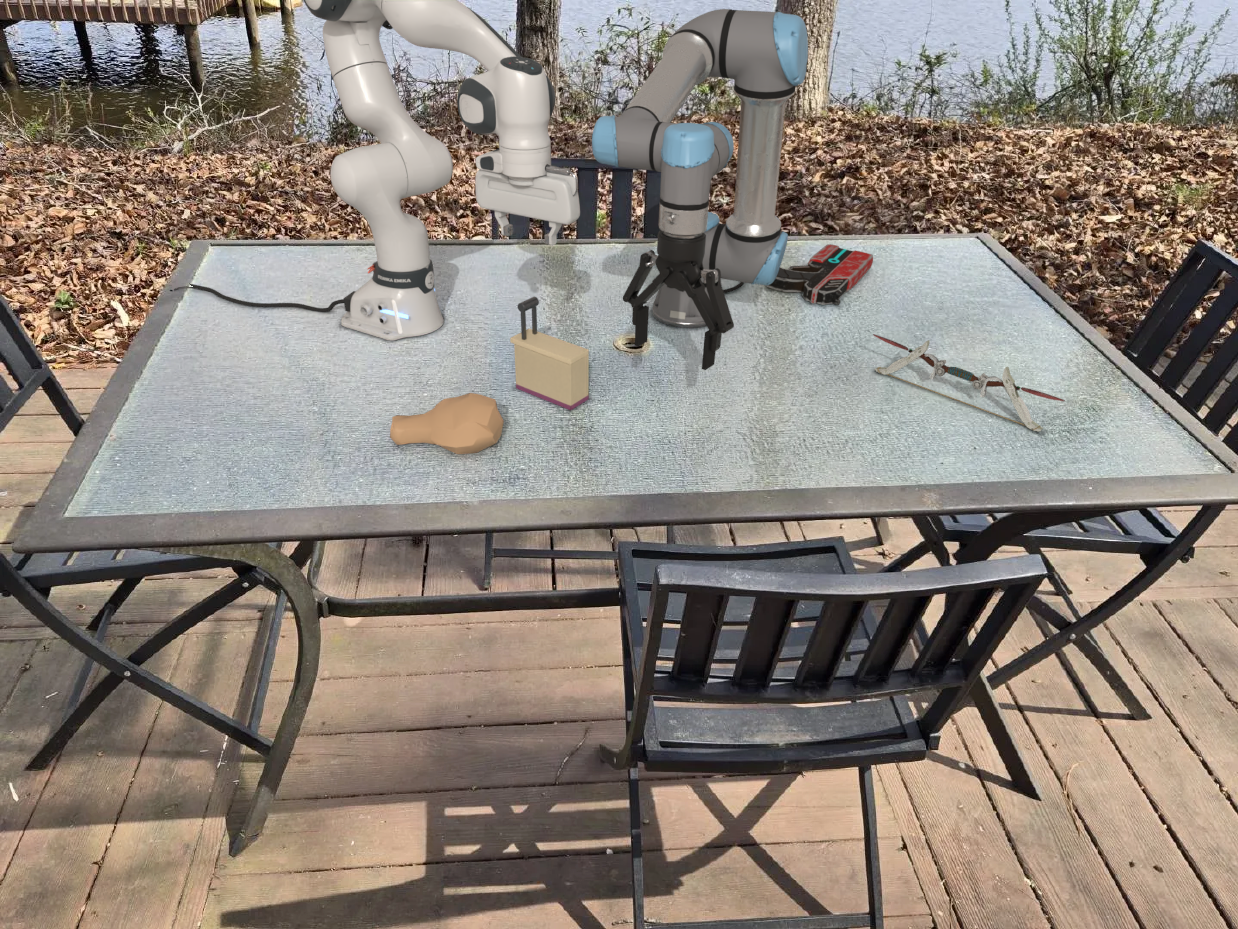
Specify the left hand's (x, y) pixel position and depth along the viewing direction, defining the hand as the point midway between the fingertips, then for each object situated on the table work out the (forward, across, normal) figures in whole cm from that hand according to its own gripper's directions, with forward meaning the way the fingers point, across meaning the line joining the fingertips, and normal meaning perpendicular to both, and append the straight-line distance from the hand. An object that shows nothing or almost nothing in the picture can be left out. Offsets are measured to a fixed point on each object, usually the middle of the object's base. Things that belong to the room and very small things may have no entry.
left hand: (528, 239), depth 159 cm
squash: (+29, 0, +28) cm, 40 cm away
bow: (+30, -74, -36) cm, 88 cm away
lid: (+19, -5, +3) cm, 20 cm away
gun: (+29, -32, -82) cm, 93 cm away
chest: (+29, -6, +3) cm, 30 cm away
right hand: (+12, -33, +7) cm, 36 cm away
